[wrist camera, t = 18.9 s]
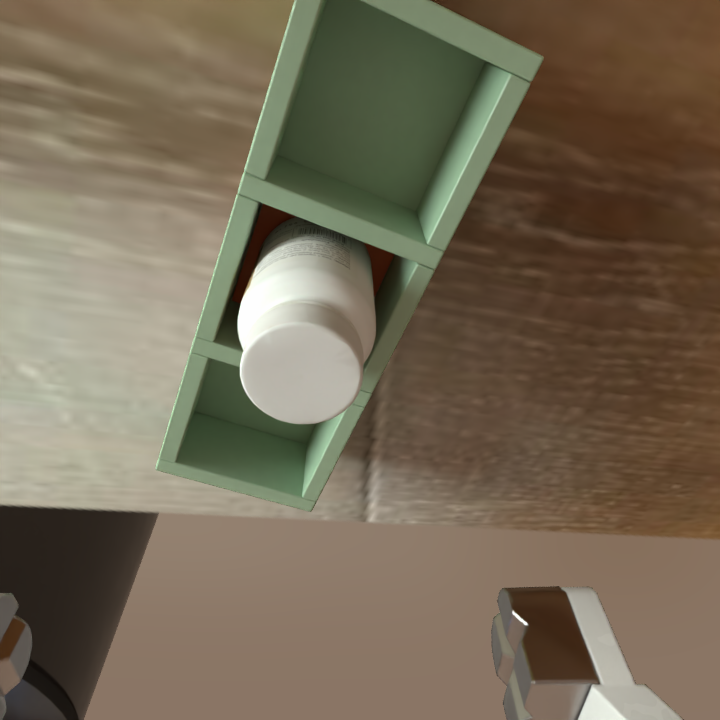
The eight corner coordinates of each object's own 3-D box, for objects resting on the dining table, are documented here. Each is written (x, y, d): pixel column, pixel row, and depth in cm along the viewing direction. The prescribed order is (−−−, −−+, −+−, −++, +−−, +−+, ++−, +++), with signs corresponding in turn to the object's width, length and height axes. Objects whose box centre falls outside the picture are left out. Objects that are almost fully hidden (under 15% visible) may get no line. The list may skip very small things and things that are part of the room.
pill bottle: (235, 247, 22) (187, 353, 16) (334, 189, 21) (327, 278, 14) (298, 334, 24) (279, 459, 18) (390, 285, 23) (408, 401, 16)
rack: (315, 450, 29) (311, 513, 25) (179, 409, 27) (154, 470, 24) (510, 46, 19) (545, 57, 16) (318, -49, 18) (311, -59, 14)
